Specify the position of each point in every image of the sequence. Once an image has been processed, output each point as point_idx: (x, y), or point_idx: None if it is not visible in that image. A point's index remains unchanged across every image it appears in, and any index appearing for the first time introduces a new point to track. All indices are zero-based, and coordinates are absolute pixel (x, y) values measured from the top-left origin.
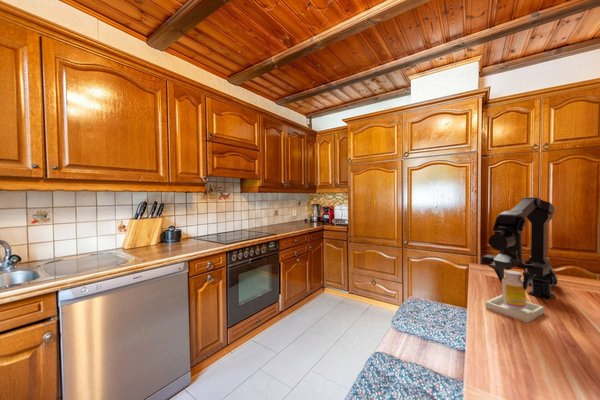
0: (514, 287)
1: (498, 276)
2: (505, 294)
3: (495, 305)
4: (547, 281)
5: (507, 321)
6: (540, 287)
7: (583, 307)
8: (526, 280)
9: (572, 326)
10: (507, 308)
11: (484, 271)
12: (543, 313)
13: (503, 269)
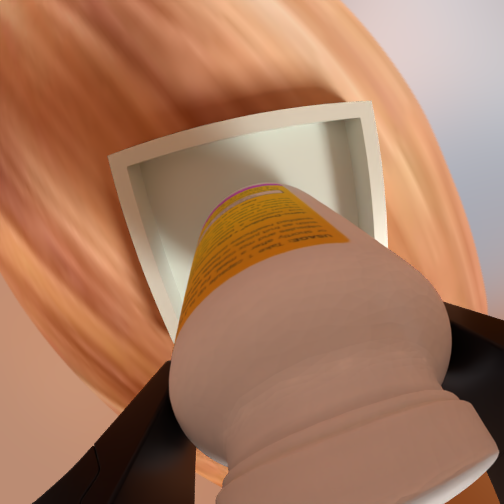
0: (216, 274)
1: (500, 324)
2: (307, 202)
3: (307, 106)
4: None
5: (178, 62)
6: None
7: (199, 459)
8: (89, 469)
9: (76, 322)
10: (235, 134)
11: None
12: None
13: (492, 466)
